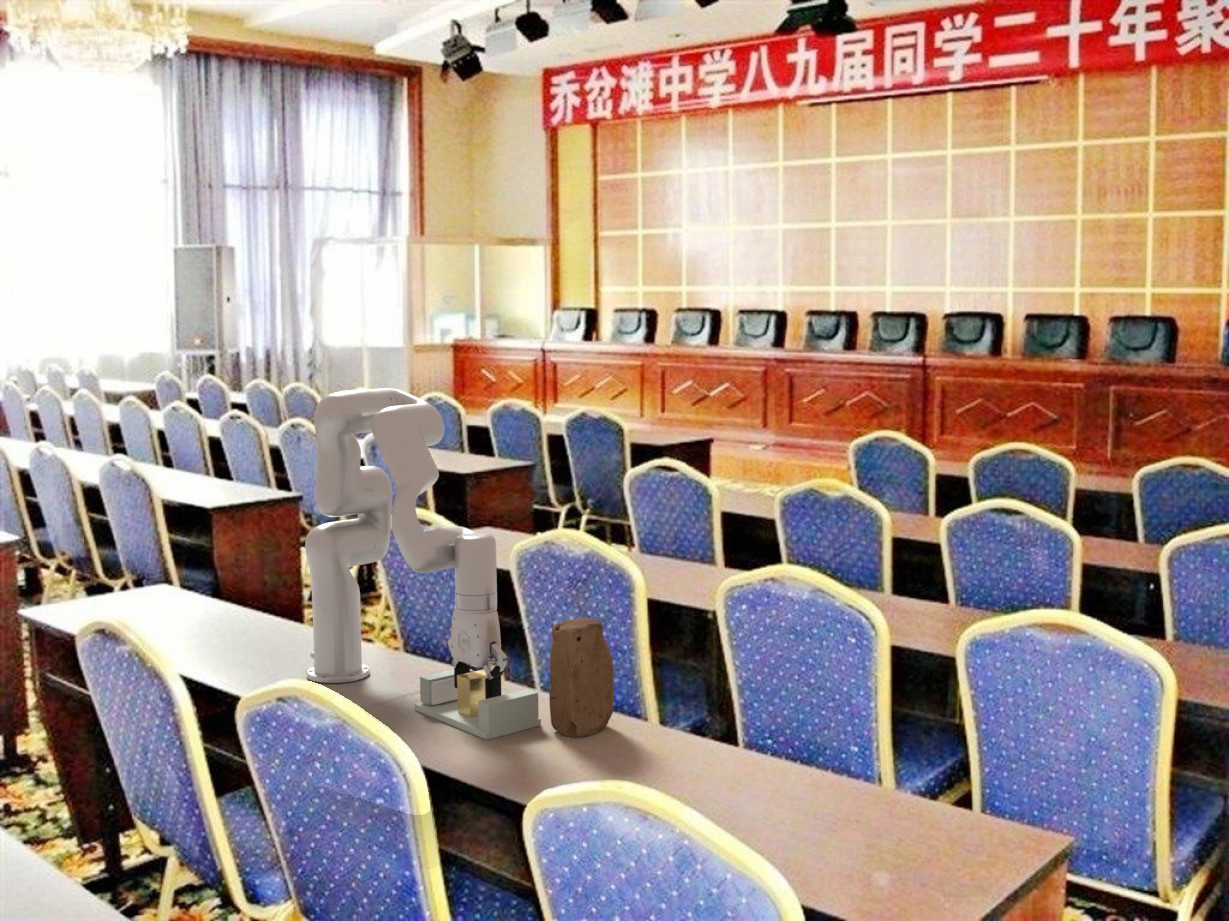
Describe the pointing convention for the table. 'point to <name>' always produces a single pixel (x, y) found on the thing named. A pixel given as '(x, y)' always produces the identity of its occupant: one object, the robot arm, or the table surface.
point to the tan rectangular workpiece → (470, 692)
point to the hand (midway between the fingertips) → (477, 692)
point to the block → (580, 678)
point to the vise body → (490, 714)
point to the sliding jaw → (438, 688)
